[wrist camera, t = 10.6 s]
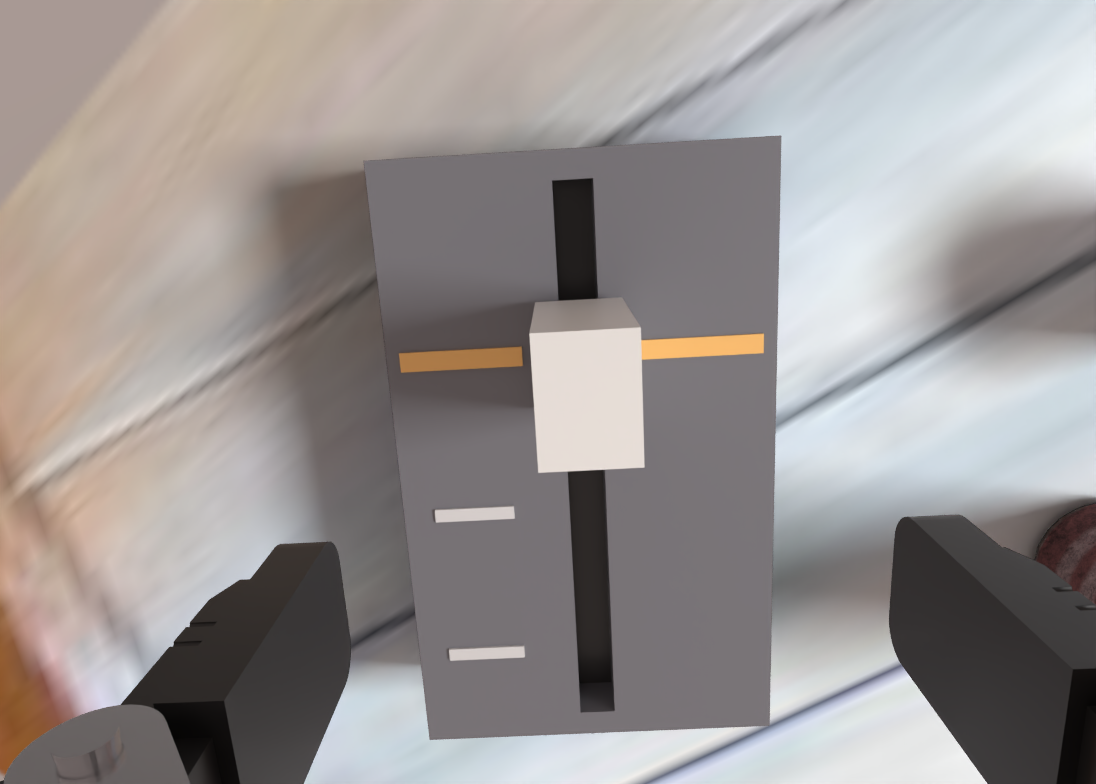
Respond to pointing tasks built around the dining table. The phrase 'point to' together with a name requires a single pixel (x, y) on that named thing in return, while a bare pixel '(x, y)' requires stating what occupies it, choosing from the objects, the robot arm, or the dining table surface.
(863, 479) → the dining table surface
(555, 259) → the slider control panel
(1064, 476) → the dining table surface
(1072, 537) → the can
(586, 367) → the fader knob
